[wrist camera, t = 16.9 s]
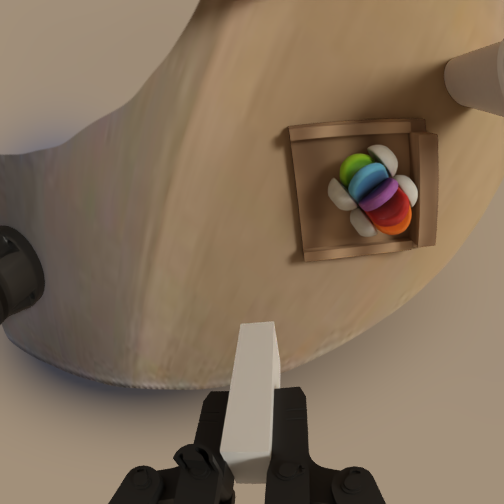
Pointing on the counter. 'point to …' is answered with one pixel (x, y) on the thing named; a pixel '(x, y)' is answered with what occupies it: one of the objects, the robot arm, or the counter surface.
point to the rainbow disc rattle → (374, 192)
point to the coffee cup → (478, 79)
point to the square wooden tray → (338, 221)
